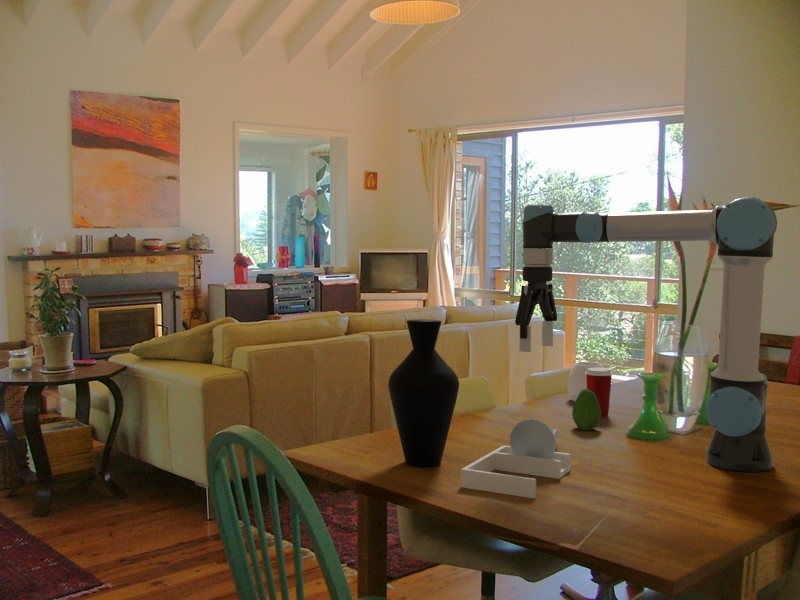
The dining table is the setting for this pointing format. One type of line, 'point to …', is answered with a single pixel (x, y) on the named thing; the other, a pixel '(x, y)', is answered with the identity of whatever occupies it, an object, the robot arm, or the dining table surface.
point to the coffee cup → (600, 386)
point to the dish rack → (506, 460)
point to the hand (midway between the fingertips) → (536, 348)
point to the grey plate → (533, 439)
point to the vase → (423, 397)
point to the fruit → (586, 410)
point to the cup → (579, 378)
